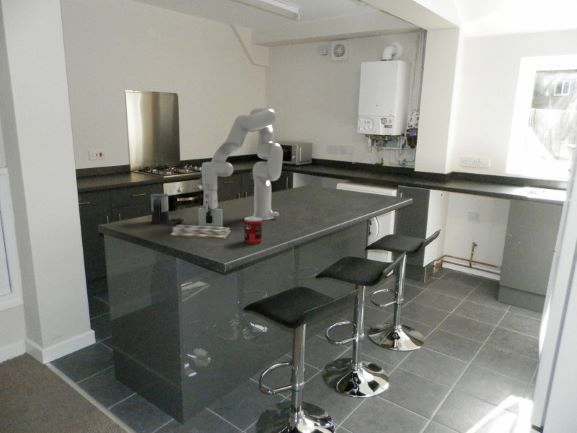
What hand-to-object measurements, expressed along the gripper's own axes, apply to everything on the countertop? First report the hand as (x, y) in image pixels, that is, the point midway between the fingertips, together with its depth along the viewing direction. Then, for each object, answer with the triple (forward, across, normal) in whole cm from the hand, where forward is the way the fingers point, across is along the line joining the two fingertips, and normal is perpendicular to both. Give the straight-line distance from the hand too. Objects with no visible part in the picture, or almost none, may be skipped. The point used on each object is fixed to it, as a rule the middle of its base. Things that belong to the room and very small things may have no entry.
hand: (210, 221), depth 215 cm
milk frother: (+3, +2, +24) cm, 24 cm away
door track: (+2, -15, 0) cm, 15 cm away
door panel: (+2, 0, 0) cm, 2 cm away
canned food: (+2, -24, -27) cm, 36 cm away
